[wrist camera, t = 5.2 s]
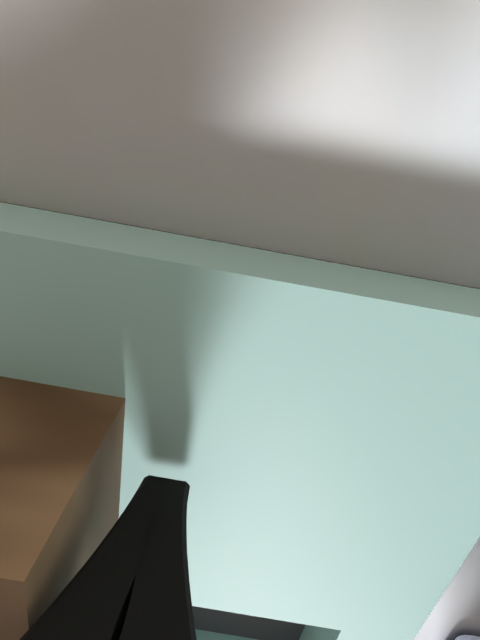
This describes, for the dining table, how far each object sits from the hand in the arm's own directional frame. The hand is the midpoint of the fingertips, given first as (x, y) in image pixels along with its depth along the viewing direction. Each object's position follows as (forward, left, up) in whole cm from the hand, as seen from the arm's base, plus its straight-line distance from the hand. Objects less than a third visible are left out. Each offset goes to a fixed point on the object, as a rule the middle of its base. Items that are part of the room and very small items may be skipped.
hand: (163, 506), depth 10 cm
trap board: (-1, +9, -4) cm, 9 cm away
